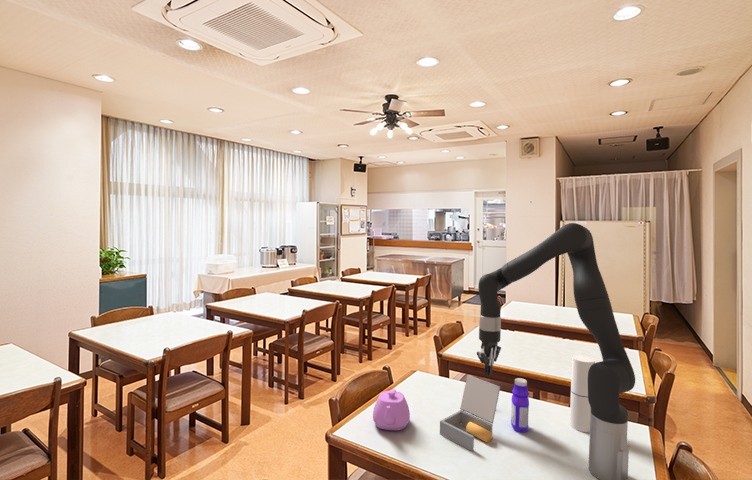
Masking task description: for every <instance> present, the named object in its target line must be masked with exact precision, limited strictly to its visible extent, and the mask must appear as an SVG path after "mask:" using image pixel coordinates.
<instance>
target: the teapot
mask: <svg viewBox="0 0 752 480" xmlns="http://www.w3.org/2000/svg"><path fill="white" fill-rule="evenodd" d="M410 413H411V412H410V409H409V404H408V402H407V399H406V398H405V395H404V394H403V393H402V392H400V391H397V390H396V389H394V388H393V389H391V390H385V391H382V392H381V393H380V394H379V396H378V398H377V399H376V402H375V404H374V406H373V411H372V419H373V422H374V424H375V425H376V427H377V428H379V429H381V430H386V431H400V430H403V429H405V428H406V426H407V425H408V423H409V422H410V418H411V417H410V416H411V414H410Z"/></svg>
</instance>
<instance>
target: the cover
mask: <svg viewBox="0 0 752 480" xmlns="http://www.w3.org/2000/svg"><path fill="white" fill-rule="evenodd" d="M500 391H501V386H499V385H497V384H495V383H492V382H488V381H485V380H483V379H481V378H478V377H475V376H472V375H469V374H467V375H466V381H465V385H464V390H463V394H462V399H461V403H460V407H459V410H462V411H464V412H466V413H468V414H470V415H473V416H475V417H477V418H479V419H481V420H484V421H486V422H488V423H490V424H492V425H493V424H494V420H495V416H496V411H497V405H498V401H499V395H500Z"/></svg>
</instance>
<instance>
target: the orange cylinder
mask: <svg viewBox="0 0 752 480" xmlns="http://www.w3.org/2000/svg"><path fill="white" fill-rule="evenodd" d="M465 430H466V431H465V432H467V433H469V434H471V435H472V436H474V437H475V438H478V439H480V440H482V441H484V442H485V443H487V444H488V443H490V442H491V441H492V439H493V431H492V432H490V431H488V430H486V429H484V428H482V427H480V426H478V425H476V424H474V423H472V422H469V423H468V424H467V426H465Z"/></svg>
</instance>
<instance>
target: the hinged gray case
mask: <svg viewBox="0 0 752 480" xmlns="http://www.w3.org/2000/svg"><path fill="white" fill-rule="evenodd" d="M469 422H472V423H474V424H476V425H478V426H480V427H482V428H484V429H486V430H488V431H490V432H492V433H493V424H492V423H490V422H487V421H485V420H483V419H481V418H479V417H476V416H474V415H472V414H470V413H468V412H465V411H463V410H461V409H459V410H458V411H456V412H454V413H453V414H451V415H449V416H447V417H445V418H442V419H441V420H440V421H439V435H441V436H443V437H445V438H447V439H449V440H450V441H453V442H454V443H456V444H458V445H460V446H462V447H463V448H465V449H467V450H469V451H471V452H473V451H474V448H475V447H474V445H475V436H474V435H472V434H470V433H468V432H467V431H465V430H462V429H461V428H458V427H457V426H459V425H462V426H465V427H466V426H467V424H468V423H469Z"/></svg>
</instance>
